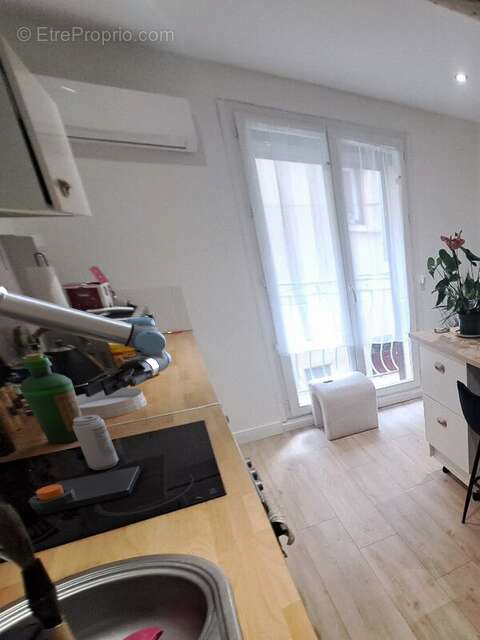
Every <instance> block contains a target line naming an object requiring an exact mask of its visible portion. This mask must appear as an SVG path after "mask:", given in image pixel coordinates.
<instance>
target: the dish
mask: <svg viewBox="0 0 480 640" xmlns="http://www.w3.org/2000/svg"><path fill="white" fill-rule="evenodd" d="M76 397H77V401H78V404H79V407H80V410H81V414H82V416H85V415H93V414H95V415H99V417H100V418H101V419H103V420H105V419H110V418H116V417H120V416H123V415H127V414H130V413H134V412H137V411H139V410H140V409H142V408H144V407H145V406H147V400H146V397H145V395H144V392H143V390H142V389H140V388H135V387H126V388H121V389H119V390H118V391H116V392H114V393H112V394H111V395H109V396H105V393H104V391H103V390H102V392H98V393H97V394H95V395H93V396H91V397H86V394H85V393H82V394H78V395H76Z"/></svg>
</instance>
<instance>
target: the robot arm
mask: <svg viewBox="0 0 480 640" xmlns="http://www.w3.org/2000/svg"><path fill="white" fill-rule="evenodd" d="M0 319H4V320H8V321H13V322H17V323H21V324H26V325H30V326H35V327H39V328H44V329H47V330H51V331H57V332H61V333H64V334H69V335H73V336H74V335H75V336H78V337H82V338H87V339H92V340H95V341H100V342H105V343H109V344H113V345H117V346H121V347H127V348H129V349H133V351H134V355H135V357H134V358H131V359H129V360H126V361H125V362H124V361H123V363H121V364H120V365H119V367H118V368H117V370H116V371H113V372H111V373H110V374H108V373H106V372H100V373H99V374H98V375H96V376H94V377H92V378H91V379H89V380H87V381H86V383H87V386H85V387H83V389H82V390H83V391H84V394H86V397H91V396H93V395H95V394H97V393H98V392H102V390H103V391H104V393H105V396H109V395H111V394H112V393H114V392H116V391H118V390H119V389H121V388H129V387H130V388H135V387H136V386H139V385H140V384H142V383H144V382H146V381H148V380H151V379H154V378H155V377H154V376H155V375H158V374H159V373H160V372H163V371H165V370H166V369H167V368H168V367H170V365H171V364H172V356H171V355H170V354H169V353H168V352H167V351H166V350H165V349H166V346H167V341H166V338H165V336H164V335H163V334H162V333H161V332H160V331H158V328H157V325H156V323H155V320H154V319H153V318H152V317H148V316H147V317H145V316H144V317H143V316H142V317H140V316H139V317H130V318H127V319H126V320H125V321H122V320H118V319H114V318H111V317H106V316H102V315H99V314H95V313H91V312H88V311H84V310H81V309H76V308H72V307H69V306H66V305H62V304H57V303H54V302H50V301H47V300H44V299H43V300H42V299H39V298H35V297H32V296H27V295H24V294H20V293H16V292H14V291H8V290H7V289H6V288H5V287H4V286H3V285H1V284H0Z"/></svg>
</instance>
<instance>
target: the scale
mask: <svg viewBox="0 0 480 640" xmlns="http://www.w3.org/2000/svg"><path fill="white" fill-rule="evenodd" d="M141 472H142V471H141V468H140V466H139V465H137V466H132V467H127V468H122V469H116V470H111V471H106V472H101V473H95V474H90V475H86V476H82V477H81V476H80V477H76V478H71V479H66V480H60V481H56V482H55V484H59V485H61V486H62V489H63V491H64V494H62V495H60V496H58V497H55V498H52V499H48V500H39V498H38V496H37V494H35V495H34V496H31V497H30V499H29V500H28V504H29V505H30V507H31V508H32V509H33V510H34V511H35V512H36V515H37V516H43V515H47V514H51V513H52V514H53V513H56V512H61V511H65V510H69V509H75V508H78V507H83V506H88V505H93V504H97V503H100V502H106V501H109V500H115V499H119V498H123V497H128V496H131V493H132V491H133V489H134V487H135V485H136V483H137V480H138V478H139V476H140V474H141Z"/></svg>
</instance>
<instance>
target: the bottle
mask: <svg viewBox="0 0 480 640" xmlns="http://www.w3.org/2000/svg"><path fill="white" fill-rule="evenodd" d="M25 357H26V358H25V359H24V360H23V365H24V366H23V367H24V369H27V370H28V371H29V374H30V376H28V377H27V378H25V379H24V380H23V381H22V382H21V384H20V385H19V388H18V389H19V391H20V392H21V395H22V396H23V398H24V400H25V401H26V403H27V405H28V407H29V409H30V410H31V412H32V414H33V416H34V418H35V420H36V422H37V423H38V426H39V427H40V429H41V431H42V432H43V434H44V436H45V438H46V439H47V441H48V443H50V444H54V445H55V444H56V445H57V444H59V445H60V444H67V443H73V442H75V441H78V439H77V436H76V434H75V432H74V429H73V427H72V426H73V424H74V421H73V420H74V419H75V418H78V417H81V416H82V414H81V410H80V407H79V404H78V401H77V397H76V396H77V394H76V390H75V388H74V384H73V382H72V379H71V378H69V377H67V376H66V375H64V374H60V373H55V372H53V371H52V369H51V366H52V365H53V363H52V362H51V361H50V360H49V358H48V357H46V356H43V353H30V354H26V355H25Z"/></svg>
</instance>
